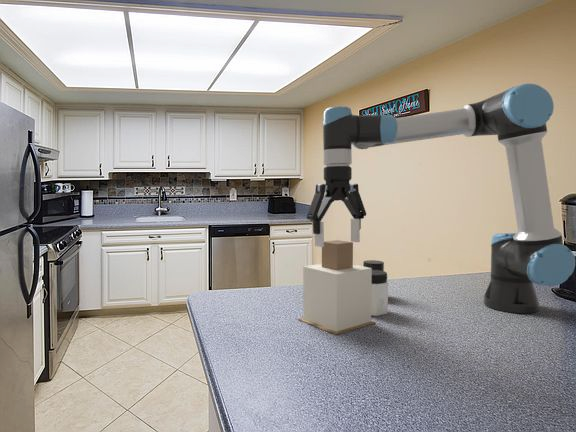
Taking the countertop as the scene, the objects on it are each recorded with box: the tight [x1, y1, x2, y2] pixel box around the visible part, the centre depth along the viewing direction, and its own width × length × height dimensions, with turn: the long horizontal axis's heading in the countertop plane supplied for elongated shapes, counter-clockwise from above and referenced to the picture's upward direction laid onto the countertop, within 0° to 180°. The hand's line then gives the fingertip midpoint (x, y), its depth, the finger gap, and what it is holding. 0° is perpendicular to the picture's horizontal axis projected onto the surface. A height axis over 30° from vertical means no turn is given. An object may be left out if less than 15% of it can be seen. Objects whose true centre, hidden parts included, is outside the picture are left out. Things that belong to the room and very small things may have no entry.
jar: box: [371, 270, 389, 317], centre depth 123 cm, size 9×8×12 cm
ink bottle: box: [362, 259, 385, 271], centre depth 140 cm, size 10×9×12 cm
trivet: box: [297, 317, 376, 336], centre depth 114 cm, size 15×15×1 cm
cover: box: [302, 239, 372, 332], centre depth 114 cm, size 13×13×22 cm
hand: (337, 244), depth 113 cm, fingers open, 13 cm apart
